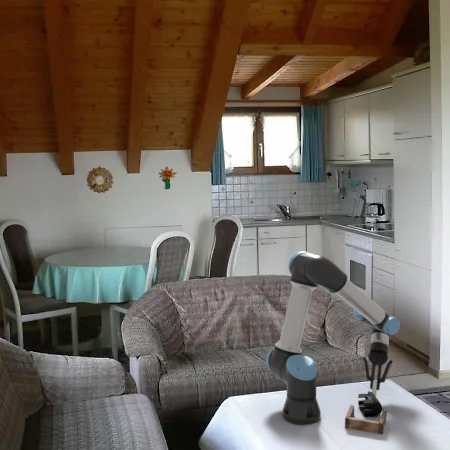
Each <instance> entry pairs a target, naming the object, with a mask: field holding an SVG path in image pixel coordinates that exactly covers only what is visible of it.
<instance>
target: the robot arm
mask: <svg viewBox="0 0 450 450" xmlns="http://www.w3.org/2000/svg"><path fill="white" fill-rule="evenodd" d="M288 270H289V273H290V279H289V281H290V284H291V286H292V287H291V291H290V295H289V299H288V304H287V307H286V312H285V316H284V320H283V325H282V329H281V333H280V338H279V340H278V341H277V342H276V343H275V342H274V346H273V348H272V349H271V350H269V351H268V353H267V354H266V355H267V356H266V358H265V359H266V361H265V362H266V363H265V364H266V367H267V369H268V371H269V372H270V373H271V374H272V375H273V376H274V377H275V378H277V379H279V380H280V381H282V383H284V384H286V398H285V403H284V404H283V407H282V418H283V419H284V420H285V421H287V422H289V423H290V424H295V425H300V426H303V425H305V426H306V425H312V424H316V423H318V422H319V421H320V420H321V416H322V415H321V413H322V412H321V408H320V405H319V402H318V398H317V375H318V370H317V364H316V362H315V360H314V359H313V358H311V357H310V356H307V355H303V354H302V353H303V349H302V348H301V347H300V345H301V342H302V337H303V333H304V329H305V324H306V321H307V315H308V312H309V308H310V304H311V299H312V296H313V295H312V294H313V291H314V290H317V288H318V286H319V287H321V288H323V289H325V290H327V291H328V292H330V293H331V294H336V295H337V296H338V297H340V298H341V299H342V300H343V301H344V302H346V304H348V305H349V306H350V307H351V308H352V309H353V314H352V315H353V316H354V318H355V319H357V321H358V322H361V324H364V325H365V326H367V327H368V328H370V329H371V338H370V346H369V353H368V354H367V356H363V357H362V362H363V363H364V367H365V374H366V381H370V384H369V388H370V390H371V392H372V393H373V394H374V395H375V396H376V397H377V391H380V387H381V384H382V383H384V384H385V382H386V379H387V376H388V375H389V372H390V369H391V367H392V366H393V365H394V361H393V360H392V359H389V356H388V352H389V342H390V336H391V335H392V336H393V335H395V334H397V333H398V332H399V330H400V327H401V322H400V320H399V319H398V318H397V317H395V316H393V315H391V313H388V312H387V311H385V310H384V309H383V308H382V307H381V306H379V305H378V304H377V303H376V302H375V301H374V300H373V299H372V298H370V297H369V296H368V295H367V294H366V293H364V292H363V291H362V290H361V289H360V288H359V287H358V286H357V285H355V284H354V283H353V282H352V281H351V280H350V279H348V274H347V273H346V272H344V271H343V270H342V269H341V268H340V267H339V266H338V265H336V264H335V263H334V262H333V261H332V260H330V259H329V258H327V257H326V256H323V255H321V254H320V255H319V254H316V253H313V252H311V251H305V250H303V251H298V252H296V253H295V254H293V255H292V257H291V258H290V259H289V262H288ZM369 361H370V363H371V364H372V365H371V372H369V371H370V370H369ZM385 364H386V365H385ZM384 365H385V369H384V371H383V374H382V369H383V366H384ZM377 366H378V368H377ZM376 368H377V369H376ZM376 370H377V374H376ZM370 374H371V375H370ZM375 375H377V378H376V377H375ZM375 378H376V380H375Z"/></svg>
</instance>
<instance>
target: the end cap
mask: <svg viewBox="0 0 450 450" xmlns="http://www.w3.org/2000/svg"><path fill="white" fill-rule="evenodd" d="M357 398H358V399H361V400H358V401H357V402H358V409H359V411H360V412H361V414H362V416H363V418H376V417H377V416H380V415H381V414H382V410H383V405H382V404H381V402H380V400H379V399H378V398H377V395H376V396H375V395H374V394H373V393H372V391H370V390H368V391H367V393H358V397H357Z"/></svg>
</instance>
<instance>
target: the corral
mask: <svg viewBox="0 0 450 450" xmlns="http://www.w3.org/2000/svg"><path fill="white" fill-rule="evenodd" d="M386 423H387V409H386V410H385V409H382V412H381V413H380V419H379V421H377V420H370V419H364V418H358V417H355V405H353V404H352V405H349V407H348V410H347V412H346V415H345V418H344V429H348V430H353V431H359V432H360V431H361V432H365V433H372V434H376V435H377V434H379V435H383V434H384V430H385V426H386Z"/></svg>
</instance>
